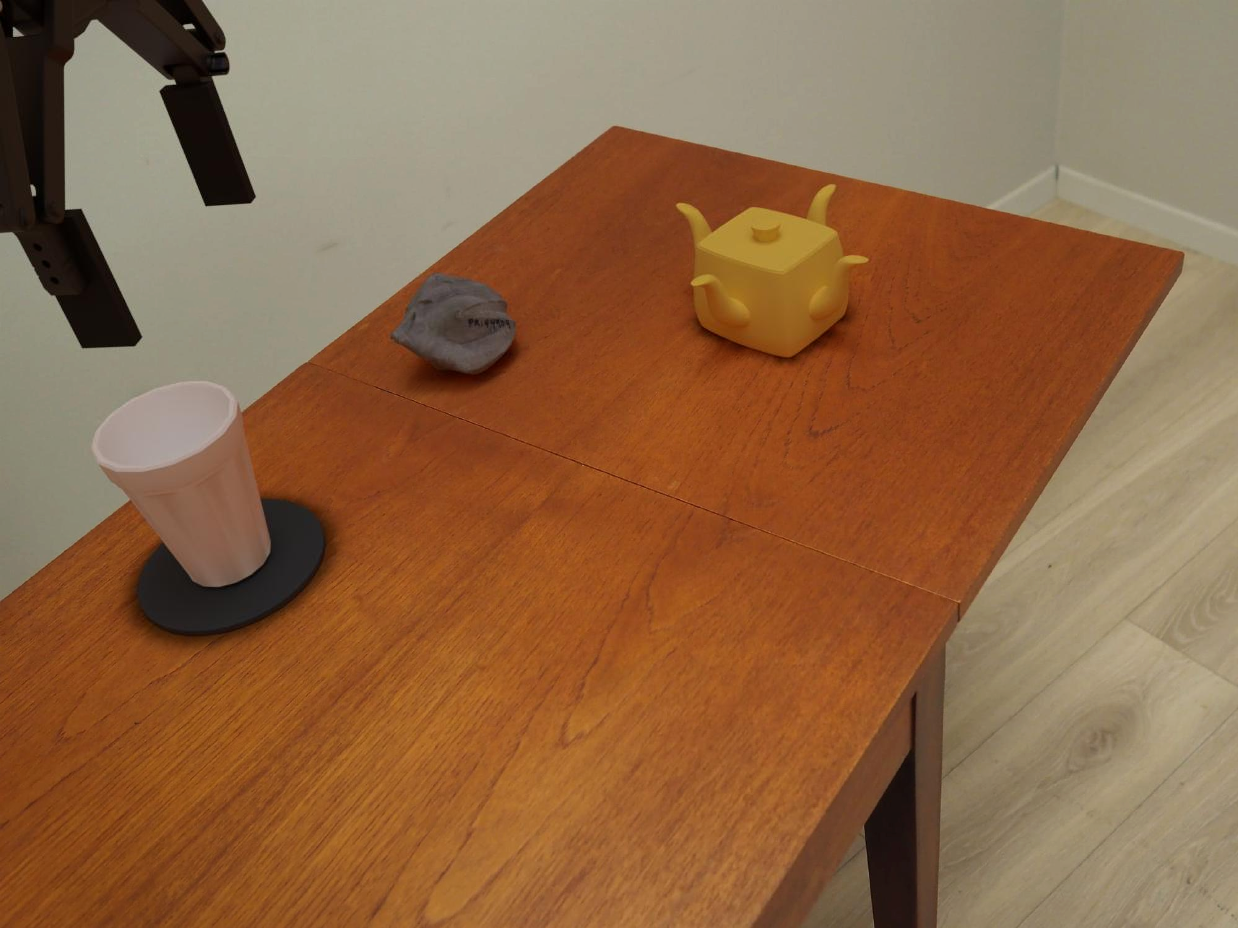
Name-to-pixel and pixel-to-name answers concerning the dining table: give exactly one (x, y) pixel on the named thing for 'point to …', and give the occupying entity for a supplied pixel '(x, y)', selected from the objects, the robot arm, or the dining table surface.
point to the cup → (189, 477)
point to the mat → (246, 601)
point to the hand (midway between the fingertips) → (177, 267)
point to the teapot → (770, 276)
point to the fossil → (456, 324)
